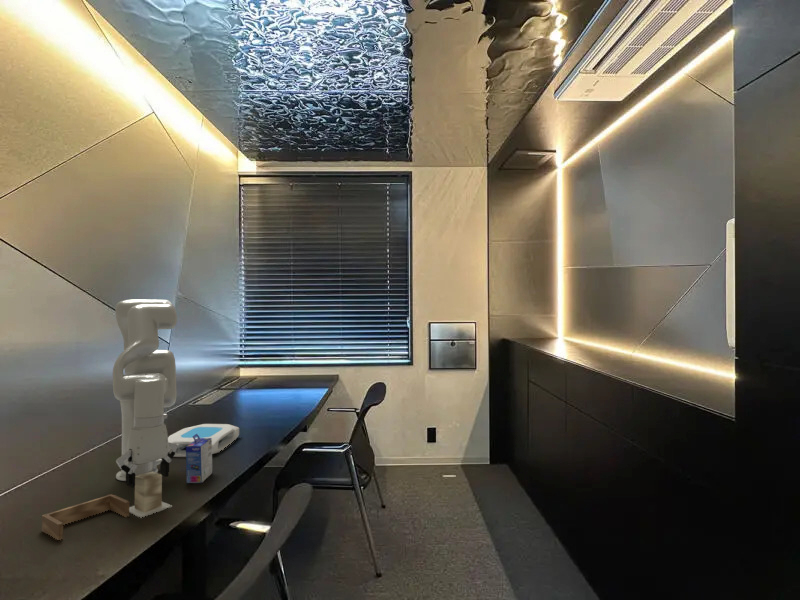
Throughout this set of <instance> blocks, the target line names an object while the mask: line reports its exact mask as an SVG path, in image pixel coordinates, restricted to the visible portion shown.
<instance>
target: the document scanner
mask: <svg viewBox="0 0 800 600" xmlns="http://www.w3.org/2000/svg"><path fill="white" fill-rule="evenodd" d="M196 434H198V436H199V437H200V438H212V455H214V454H218V453H221V452H222V451H224V450H225V449H226V448H228V447H229V446H230V445H232V444H233V443H234V442H235V441H236V440H237V438H238V437H239V435H240V428H239V427H238V426H236V425H232V424H228V423H202V424H198V425H193V426H190V427H189V426H188V427H184V428H182V429H180V430H178V431H176V432H174V433H172V434H170V435H168V442H170V443H173V444H176V445H178V447H177V450H176V452H175V455H174V456H173V458H174V457H176V458H186V446H188V445H189V444H190V443H192V442H193V441H194V439H193V436H194V435H196ZM197 438H198V437H195V439H197ZM234 440H235V441H234ZM233 441H234V442H233ZM232 442H233V443H232ZM231 443H232V444H231ZM229 444H230V445H229ZM228 445H229V446H228ZM227 446H228V447H227ZM225 447H226V448H225ZM224 448H225V449H224ZM170 449H171V448H170V447H168V452H169V451H170ZM221 450H222V451H221ZM220 451H221V452H220Z"/></svg>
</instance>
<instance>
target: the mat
mask: <svg viewBox="0 0 800 600" xmlns="http://www.w3.org/2000/svg"><path fill="white" fill-rule="evenodd" d="M172 507H173V505H172V504H169V503H167V502H164V501H162V506H161V507H158V508H155V509H152V510H150V511H147V512H142V511H140V510H137V509H135V504H134V505H131V506H129V515H132V514H133V516H134V515H135V517H136V518H139V517H140V518H139V519H143V518H145V516H146V517H148V515H149V516H150V515H151V516H152V515H153V513H154V514H157V513H159V512H162V511H165V510H168V509H170V508H172ZM167 508H168V509H167ZM156 512H157V513H156ZM142 517H143V518H142Z"/></svg>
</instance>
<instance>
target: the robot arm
mask: <svg viewBox="0 0 800 600" xmlns="http://www.w3.org/2000/svg"><path fill="white" fill-rule="evenodd" d="M115 318H116V323H117V326H118V328H119V331H120V333H121V335H122V338H123V351H121V353H120V354H119V355H118V357H117V358H116V359H115V362H114V364H113V368H112V391H113V396H114V398H115V399H116V400H118V401H119V404H120V412H121V456H119V457H117V458H116V460H115V462H116V464H117V466H118V467H119V469H120V470H119V471H118V472H117V473H116V474H115V478H116V480H118V481H122V482H125V484H126V486H127V487H129V488H131V489H135V476H138V475H141V474H145V473H148V472H152V471H153V472H156V473H159V474H162V477H165V478H167V477H169V472H170V463H171V462H172V459H173V458H174V457H173V456H174V455H175V452H176V450H177V447H178V445H176V444H173V443H170V442H168V437H169V435H168V430H167V425H166V423H164V422H165V420H166V419H168V414H167V413H164V411H165V410H164V408H170V407H172V406H174V405H175V404H176V401H177V395H178V393H177V372H176V369H177V367H176V358H175V355H174V353H173V351H171V350H168V349H159V347H160V342H159V341H160V340H159V330H172V329H174V328H175V327H176V325H177V321H178V316H177V311H176V308H175V306H174V304H173V303H172V302H171V301H170V300H168V299H144V298H143V299H142V298H141V299H140V298H139V299H138V298H137V299H135V298H133V299H124V300H120V301H119V302H117V304H116V306H115ZM168 447H170V448H171V449H170V451H169V452H168ZM159 465H160V467H159V468H158V466H159ZM159 470H160V471H159Z"/></svg>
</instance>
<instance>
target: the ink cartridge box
mask: <svg viewBox="0 0 800 600" xmlns="http://www.w3.org/2000/svg"><path fill="white" fill-rule="evenodd" d="M195 437H198V438H197V439H195ZM193 439H194V441H193V442H192V443H190V444H189V445H188V446H186V447H185V450H186V457H185V466H186V467H185V468H186V469H185V471H186V473H185V474H186V484H202V483H204V481H205V480H206V479H208V478H209V477H210V476H211V475H212V474H213V454H212V438H200V437H199V436H198V434H196V435H194V436H193Z"/></svg>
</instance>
